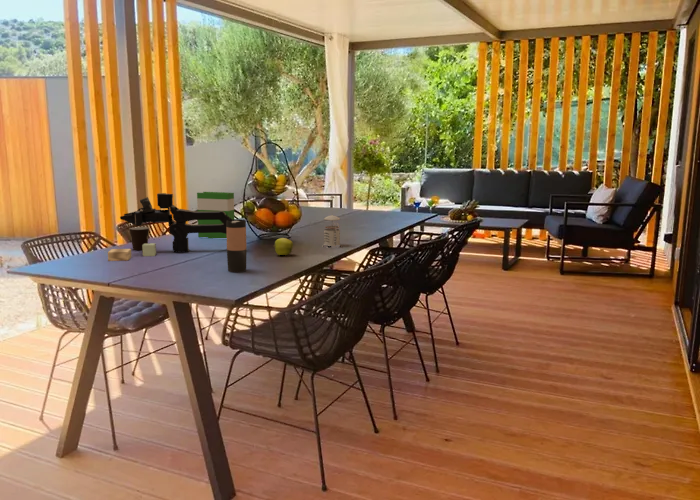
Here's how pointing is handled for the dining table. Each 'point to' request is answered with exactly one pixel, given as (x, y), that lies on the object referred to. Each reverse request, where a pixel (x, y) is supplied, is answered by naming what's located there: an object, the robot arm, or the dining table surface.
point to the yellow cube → (149, 249)
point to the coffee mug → (139, 237)
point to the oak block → (119, 254)
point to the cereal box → (215, 208)
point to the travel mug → (236, 245)
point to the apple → (283, 246)
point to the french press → (332, 231)
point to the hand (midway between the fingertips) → (122, 216)
